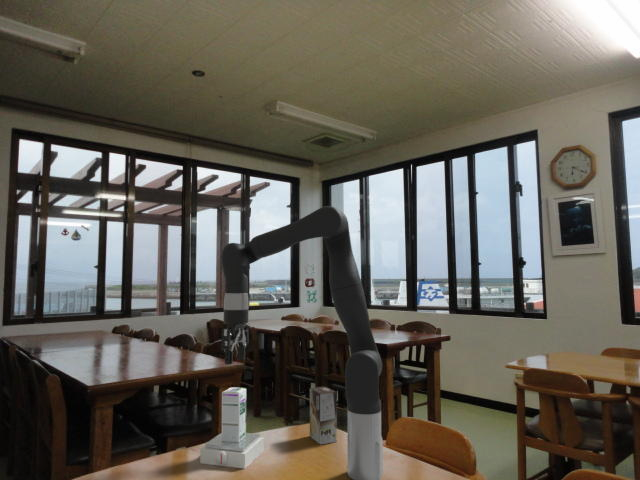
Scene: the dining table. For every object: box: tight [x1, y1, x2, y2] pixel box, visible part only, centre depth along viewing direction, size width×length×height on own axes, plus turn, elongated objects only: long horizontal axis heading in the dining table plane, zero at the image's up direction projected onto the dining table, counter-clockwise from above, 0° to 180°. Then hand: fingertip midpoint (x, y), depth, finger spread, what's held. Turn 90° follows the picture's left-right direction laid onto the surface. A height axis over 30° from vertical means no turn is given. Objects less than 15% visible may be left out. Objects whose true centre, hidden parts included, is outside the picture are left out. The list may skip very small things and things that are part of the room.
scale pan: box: [204, 432, 261, 452], centre depth 135 cm, size 12×12×1 cm
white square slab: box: [199, 436, 265, 470], centre depth 134 cm, size 14×15×4 cm
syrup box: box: [221, 386, 247, 443], centre depth 135 cm, size 6×6×14 cm
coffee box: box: [309, 386, 338, 445], centre depth 151 cm, size 9×6×16 cm
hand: (235, 361), depth 137 cm, fingers open, 8 cm apart
